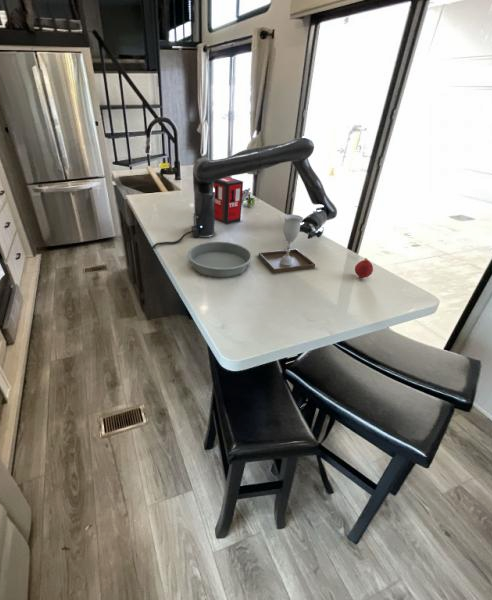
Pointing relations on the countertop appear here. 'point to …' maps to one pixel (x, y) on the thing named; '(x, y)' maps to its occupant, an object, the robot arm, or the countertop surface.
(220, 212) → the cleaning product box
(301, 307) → the countertop surface
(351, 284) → the countertop surface
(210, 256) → the cake pan
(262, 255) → the tray
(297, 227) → the chalice
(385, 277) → the countertop surface
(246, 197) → the passion flower
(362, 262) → the onion
